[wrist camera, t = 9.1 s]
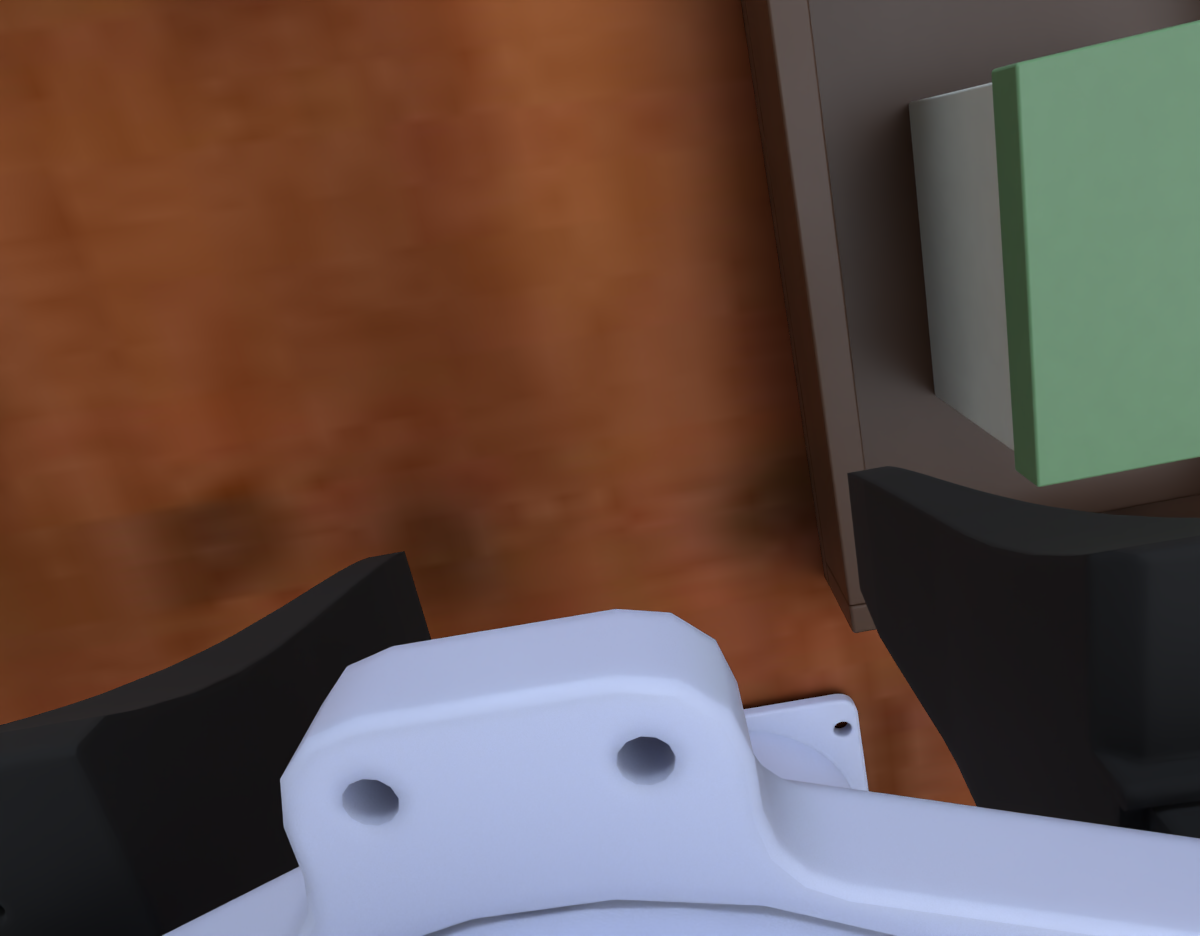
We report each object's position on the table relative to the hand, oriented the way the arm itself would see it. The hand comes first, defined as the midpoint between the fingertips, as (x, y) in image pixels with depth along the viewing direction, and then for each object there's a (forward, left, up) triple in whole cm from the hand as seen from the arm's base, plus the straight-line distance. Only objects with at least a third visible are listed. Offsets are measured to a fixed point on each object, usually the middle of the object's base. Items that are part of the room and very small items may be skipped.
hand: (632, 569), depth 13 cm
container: (+3, -10, -9) cm, 14 cm away
